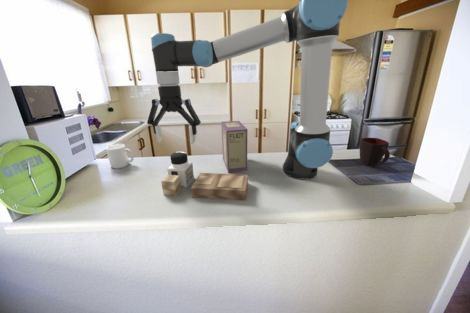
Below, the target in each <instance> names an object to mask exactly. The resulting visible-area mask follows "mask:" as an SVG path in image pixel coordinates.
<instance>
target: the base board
mask: <svg viewBox="0 0 470 313" xmlns="http://www.w3.org/2000/svg"><path fill="white" fill-rule="evenodd" d="M248 181H249V175H248V174H236V173H235V174H233V173H212V172H211V173H210V172H200V173H198V176H197V177H196V179H195V181H194V182H193V184H192V186H191V187H190V190H191V197H192V198H201V199H218V200H233V201H234V200H235V201H246V199H247V192H248V185H249V183H248Z"/></svg>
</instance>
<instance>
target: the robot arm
mask: <svg viewBox="0 0 470 313" xmlns="http://www.w3.org/2000/svg"><path fill="white" fill-rule="evenodd" d="M348 2H349V0H299V2H298V4H297V5H295V6H293V7H292V8H290V9H288V10H285V11H283V12H282V13H281V15H280V16H279V17H276V18H273V19H270V20H267V21H265V22H262V23H259V24H256V25H254V26H252V27H251V26H250V27H249V28H246V29H243V30H240V31H237V32H234V33H231V34H229V35H226V36H222V37H220V38H218V39H215V40H212V41H209V40H204V39H203V40H201V39H197V40H195V39H194V40H176V38H175V35H174V34H171V33H164V32H163V33H162V32H159V33H153V34H152V35H151V37H150V41H151V43H150V44H151V52H152V56H153V62H154V67H155V68H154V69H155V76H156V83H157V85H159V86H158V87H157V91H158V96H159V99H158V98H154V99H151V108H150V111H149V115H148V118H147V122H146V123H147V124H148V125H151V126H152V128H153V133H154V135H156V140H157V143H158V144H159V143H161V142H163V135H162V134H163V133H162V129H161V124H159V123H160V122H161V120H162V118H163V117H164V115H165V114H166V113H170V112H172V113H178V114H180V115H181V116H182V117H183V119H184V120H185V121H186V122H187V123H188V124H189V125H190V126H189V134H190V135H189V136H190V137H189V138H190V144H194V143H196V135H197V132H198V131H197V126H199V125H200V124H201V123H202V121H201V119H200V118H199V116H198V115H197V113H196V111H195V109H194V107H193V106H192V104H191V103H192V102H191V99H190V98H187V99H182V89H181V85H179V84H180V75H179V67H201V68H202V67H203V68H210V67H211V66H213V65H217V64H218V63H222V62H224V61H228V60H230V59H233V58H236V57H239V56H243V55H245V54H248V53H251V52H254V51H255V52H256V51H257V50H261V49H264V48H266V47H270V46H273V45H276V44H279V43H282V42H285V43H287V44H288V43H292V42H295V41H296V44H297V45H298V46H299V47H300V48H301V65H300V72H301V73H300V95H299V96H300V98H299V99H300V102H299V103H300V104H299V121H293V122H291V124H290V127H289V141H288V152H287V156H286V158H285V160H284V162H283V165H282V172H283V173H284V174H285V175H287V176H288V177H290V178H294V179H298V180H299V179H300V180H310V179H314V178H315V177H317V175H318V171H319V170H318V168H321V167H323V166H324V165H326V164H327V163H329V162H330V160H331V159H332V157H333V154H334V150H333V145H332V144H331V142H330V137H331V136H330V135H331V127H330V126H329V125H328V124H327V117H328V116H327V114H328V103H329V91H330V90H329V88H330V78H331V66H332V65H331V64H332V63H331V62H332V52H333V44H334V43H335V42H336V40H338V38H339V35H340V24H341V21H342V19H343V17H344V15H345V13H346V10H347V8H348ZM159 105H161V108H160V110H159V111H158V107H159ZM183 105H184V107H185V108H186V109H187V111H188V113H189V114H188V113H187V111H186V110H185V108H184V107H183ZM157 111H158V114H157ZM156 115H157V116H156Z"/></svg>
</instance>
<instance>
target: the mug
mask: <svg viewBox="0 0 470 313" xmlns="http://www.w3.org/2000/svg"><path fill="white" fill-rule="evenodd" d="M389 145H390V143H389V142H388V141H387V140H384V139H381V138H378V137H362V138H361V139H360V141H359V160H360V164H362V165H363V166H365V167H371V168H372V167H373V168H374V167H377V166H378V165H381V164H384V163H386V162H387V161H388V160H389V159H390V158H391V157H390V156H391V153H390V150H389V149H388V148H389Z"/></svg>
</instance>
